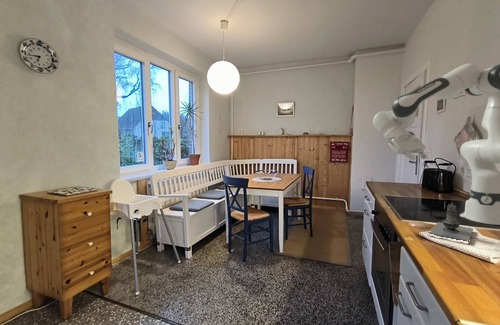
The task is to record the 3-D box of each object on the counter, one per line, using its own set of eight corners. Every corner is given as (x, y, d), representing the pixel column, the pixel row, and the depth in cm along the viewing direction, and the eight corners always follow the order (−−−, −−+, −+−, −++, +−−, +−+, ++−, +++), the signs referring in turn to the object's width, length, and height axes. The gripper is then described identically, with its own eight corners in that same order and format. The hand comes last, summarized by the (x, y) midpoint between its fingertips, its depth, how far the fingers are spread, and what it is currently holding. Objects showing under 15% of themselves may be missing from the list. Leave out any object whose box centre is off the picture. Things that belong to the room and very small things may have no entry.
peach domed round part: (411, 222, 118) (411, 220, 117) (431, 226, 112) (431, 223, 112) (406, 226, 112) (406, 224, 112) (427, 230, 106) (427, 228, 106)
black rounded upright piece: (463, 233, 98) (465, 204, 97) (447, 232, 99) (448, 203, 98) (454, 228, 104) (455, 200, 103) (438, 227, 105) (439, 200, 104)
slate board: (437, 225, 112) (437, 222, 112) (472, 231, 103) (473, 228, 103) (429, 236, 99) (429, 232, 99) (468, 244, 91) (468, 240, 90)
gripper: (390, 132, 109) (412, 155, 101) (415, 132, 119) (437, 152, 111) (380, 142, 113) (401, 164, 106) (405, 141, 123) (426, 162, 115)
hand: (420, 158), depth 109 cm, fingers open, 8 cm apart
